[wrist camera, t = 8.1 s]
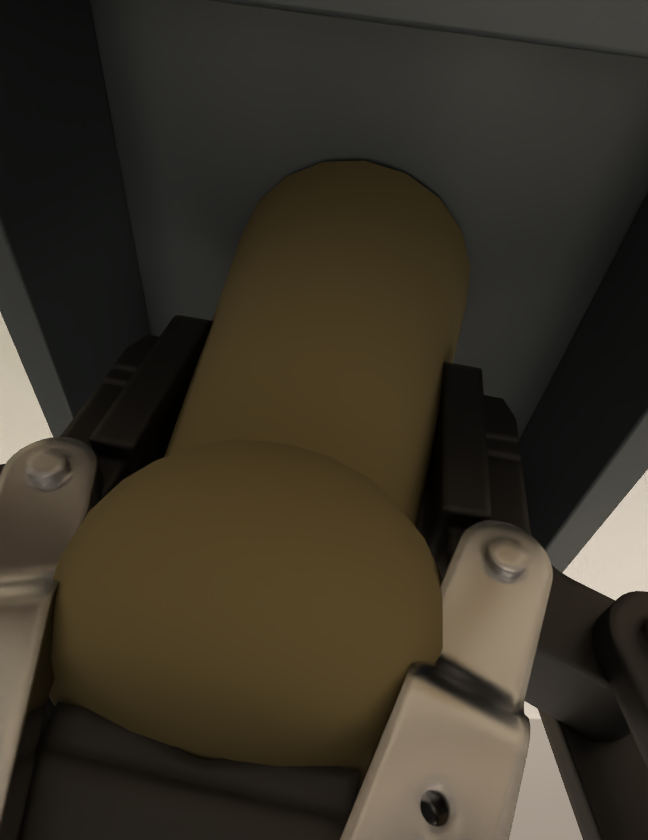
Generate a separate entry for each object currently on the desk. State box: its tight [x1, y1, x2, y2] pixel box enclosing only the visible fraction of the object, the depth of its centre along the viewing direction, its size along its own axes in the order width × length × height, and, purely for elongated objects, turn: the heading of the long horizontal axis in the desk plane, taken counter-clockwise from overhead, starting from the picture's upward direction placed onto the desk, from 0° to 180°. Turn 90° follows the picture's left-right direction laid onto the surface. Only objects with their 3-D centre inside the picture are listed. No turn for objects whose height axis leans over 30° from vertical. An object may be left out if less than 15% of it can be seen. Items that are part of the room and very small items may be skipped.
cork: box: [49, 161, 471, 787], centre depth 10 cm, size 6×6×11 cm
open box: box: [0, 0, 648, 573], centre depth 12 cm, size 14×14×5 cm
